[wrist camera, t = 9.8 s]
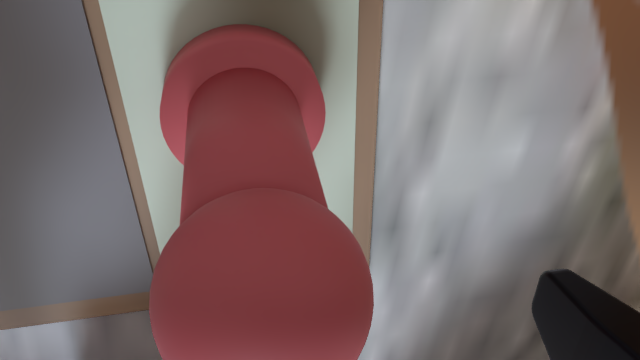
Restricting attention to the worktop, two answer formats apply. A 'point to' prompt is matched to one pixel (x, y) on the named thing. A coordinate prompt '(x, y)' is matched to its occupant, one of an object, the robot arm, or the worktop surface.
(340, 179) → the game board
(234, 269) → the pawn
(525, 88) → the worktop surface
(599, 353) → the robot arm
